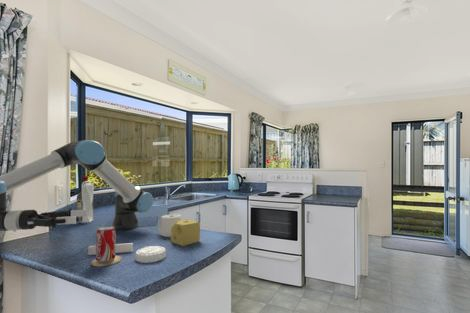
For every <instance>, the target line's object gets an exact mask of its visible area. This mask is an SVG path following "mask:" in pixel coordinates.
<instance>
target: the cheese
mask: <svg viewBox="0 0 470 313" xmlns="http://www.w3.org/2000/svg"><path fill="white" fill-rule="evenodd" d="M200 225H201V224H200V222H199V221H196V220H192V219H181V221H177V222H176V223H175V224H174V226H172V229H171V232H172V235H171V237H170V242H171V243H174V244H176V245H179V246H182V247H185V246H188V245H191V244H194V243H198V242H200V238H201V226H200Z"/></svg>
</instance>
